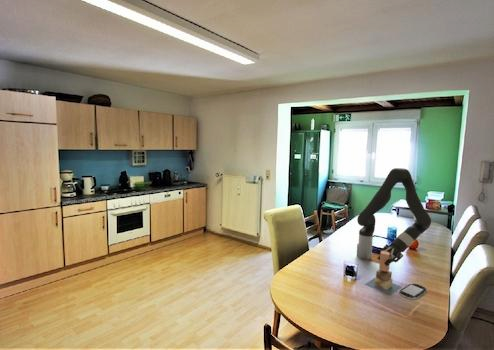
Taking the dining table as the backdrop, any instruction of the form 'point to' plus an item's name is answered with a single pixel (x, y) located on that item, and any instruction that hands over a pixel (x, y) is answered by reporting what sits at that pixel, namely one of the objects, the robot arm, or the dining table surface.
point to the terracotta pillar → (383, 258)
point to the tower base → (383, 283)
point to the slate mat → (388, 291)
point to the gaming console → (413, 291)
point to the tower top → (383, 275)
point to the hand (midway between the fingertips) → (382, 262)
